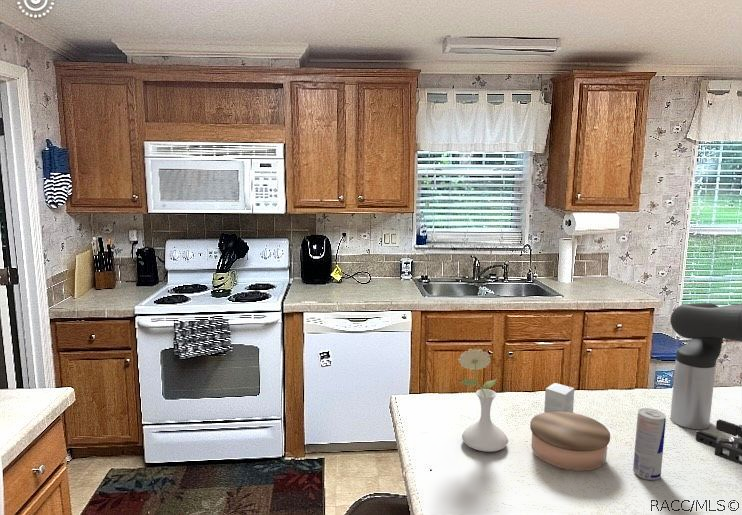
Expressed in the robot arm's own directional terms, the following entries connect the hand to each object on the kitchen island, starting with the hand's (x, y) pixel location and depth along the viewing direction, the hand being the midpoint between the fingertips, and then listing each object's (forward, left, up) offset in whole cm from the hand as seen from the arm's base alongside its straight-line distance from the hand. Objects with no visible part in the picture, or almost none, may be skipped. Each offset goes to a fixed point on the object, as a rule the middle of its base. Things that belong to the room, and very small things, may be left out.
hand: (707, 429), depth 109 cm
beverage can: (-5, -10, -16) cm, 20 cm away
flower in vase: (+1, -47, -16) cm, 50 cm away
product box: (-27, -34, -16) cm, 46 cm away
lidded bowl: (-4, -27, -16) cm, 32 cm away
